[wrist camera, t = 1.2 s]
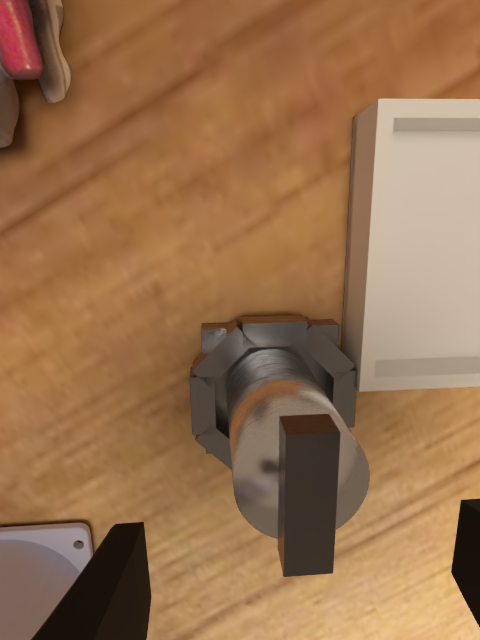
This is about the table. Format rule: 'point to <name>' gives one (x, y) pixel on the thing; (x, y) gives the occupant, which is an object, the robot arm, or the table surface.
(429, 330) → the bin
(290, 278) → the table surface
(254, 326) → the stud mount
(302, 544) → the silver cylinder with bar
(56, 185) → the table surface
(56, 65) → the brake caliper
